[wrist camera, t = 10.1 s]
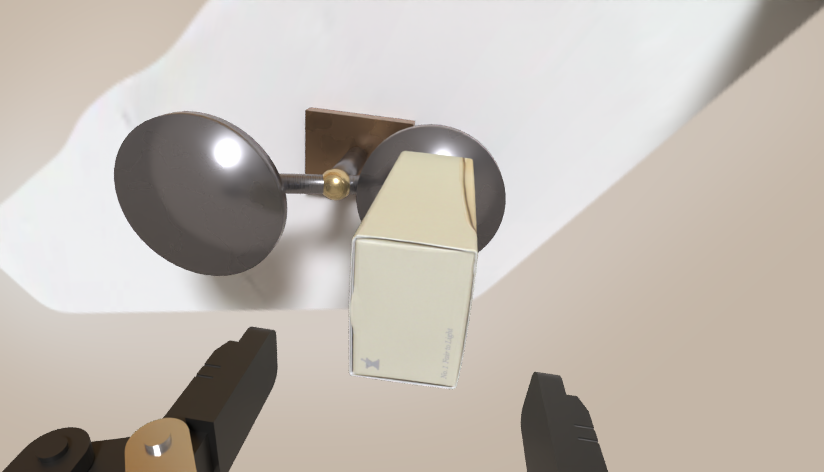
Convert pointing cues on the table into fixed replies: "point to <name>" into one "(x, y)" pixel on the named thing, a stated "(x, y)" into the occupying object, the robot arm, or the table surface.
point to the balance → (269, 181)
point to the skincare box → (415, 273)
